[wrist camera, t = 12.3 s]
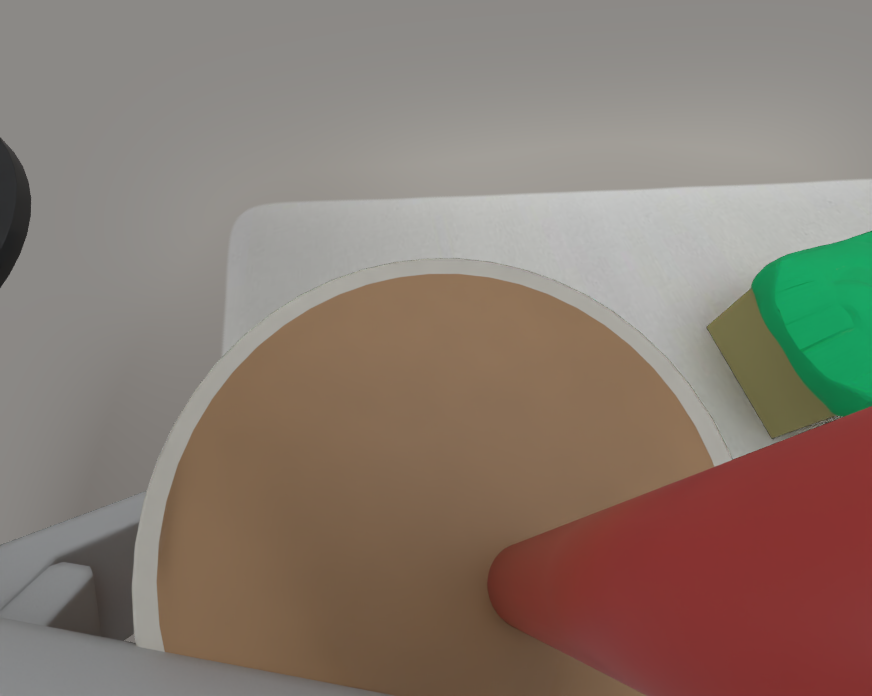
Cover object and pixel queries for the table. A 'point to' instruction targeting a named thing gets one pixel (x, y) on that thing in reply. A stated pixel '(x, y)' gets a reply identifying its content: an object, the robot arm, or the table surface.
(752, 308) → the cake
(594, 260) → the table surface
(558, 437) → the paper cup
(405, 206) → the table surface
